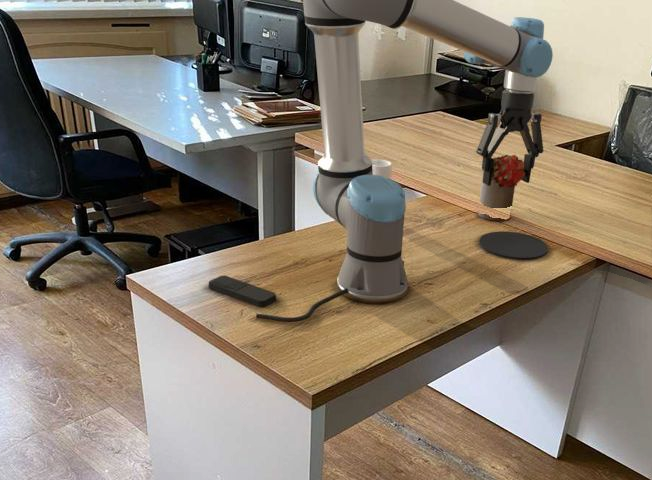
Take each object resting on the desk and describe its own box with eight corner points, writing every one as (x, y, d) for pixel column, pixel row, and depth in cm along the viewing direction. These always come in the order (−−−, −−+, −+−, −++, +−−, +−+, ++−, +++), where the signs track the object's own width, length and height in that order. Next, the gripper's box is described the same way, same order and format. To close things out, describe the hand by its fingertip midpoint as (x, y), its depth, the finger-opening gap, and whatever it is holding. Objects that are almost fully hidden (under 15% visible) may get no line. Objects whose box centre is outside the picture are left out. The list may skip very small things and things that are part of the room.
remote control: (278, 301, 144) (222, 279, 149) (278, 293, 143) (222, 272, 148) (262, 310, 140) (206, 287, 145) (262, 302, 139) (205, 279, 144)
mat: (501, 263, 171) (501, 260, 171) (466, 236, 185) (466, 234, 184) (561, 256, 179) (561, 253, 178) (523, 231, 192) (524, 229, 192)
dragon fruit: (486, 195, 172) (513, 194, 181) (513, 182, 166) (539, 181, 175) (475, 162, 172) (503, 162, 181) (502, 148, 166) (529, 149, 175)
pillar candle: (517, 218, 201) (525, 166, 194) (494, 223, 195) (501, 170, 188) (493, 207, 207) (500, 157, 200) (470, 213, 201) (476, 161, 194)
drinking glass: (360, 213, 193) (362, 159, 185) (382, 212, 195) (385, 158, 188) (369, 222, 187) (372, 167, 180) (392, 220, 190) (396, 165, 183)
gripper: (550, 87, 172) (535, 175, 183) (468, 87, 161) (458, 180, 173) (568, 93, 166) (552, 184, 177) (484, 94, 156) (473, 190, 167)
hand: (506, 182), depth 175 cm, fingers closed on dragon fruit, 11 cm apart
